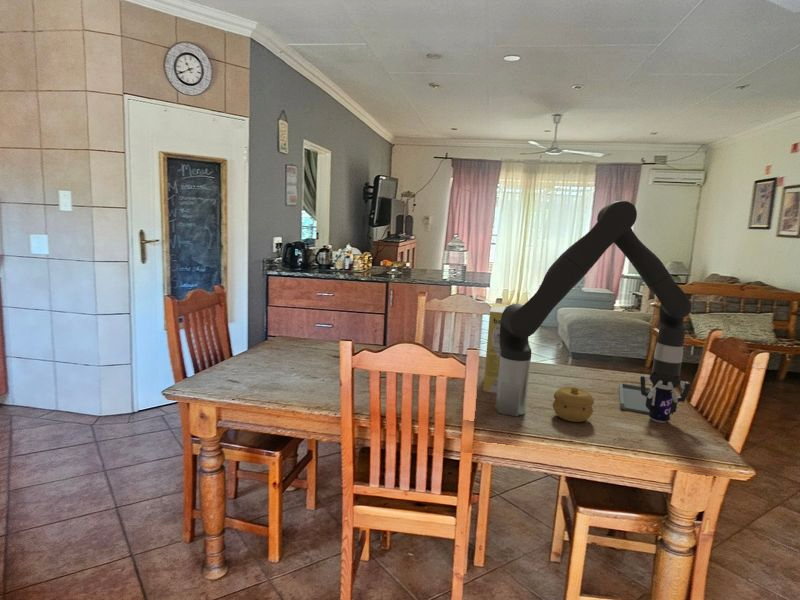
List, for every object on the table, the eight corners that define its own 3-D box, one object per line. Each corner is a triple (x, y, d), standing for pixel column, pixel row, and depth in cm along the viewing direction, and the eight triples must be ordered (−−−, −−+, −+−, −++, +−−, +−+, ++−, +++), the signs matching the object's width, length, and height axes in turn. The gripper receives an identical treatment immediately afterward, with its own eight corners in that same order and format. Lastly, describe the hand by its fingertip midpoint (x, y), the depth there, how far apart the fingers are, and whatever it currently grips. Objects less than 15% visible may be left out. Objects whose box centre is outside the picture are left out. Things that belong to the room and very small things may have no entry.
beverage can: (657, 424, 153) (663, 386, 151) (644, 417, 158) (649, 380, 157) (673, 423, 155) (678, 385, 153) (659, 416, 160) (664, 379, 158)
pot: (598, 419, 154) (602, 388, 153) (581, 430, 146) (585, 397, 144) (561, 408, 162) (565, 378, 160) (544, 417, 154) (547, 386, 152)
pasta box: (486, 375, 192) (492, 303, 187) (514, 379, 189) (521, 305, 185) (483, 391, 174) (490, 311, 169) (514, 395, 172) (522, 314, 167)
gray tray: (668, 417, 159) (669, 411, 159) (619, 408, 164) (620, 403, 164) (660, 394, 181) (661, 389, 181) (618, 387, 186) (619, 382, 186)
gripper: (642, 357, 153) (635, 410, 155) (696, 365, 147) (688, 420, 150) (641, 352, 159) (634, 402, 162) (692, 359, 154) (684, 411, 157)
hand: (660, 410), depth 156 cm, fingers closed on beverage can, 5 cm apart
